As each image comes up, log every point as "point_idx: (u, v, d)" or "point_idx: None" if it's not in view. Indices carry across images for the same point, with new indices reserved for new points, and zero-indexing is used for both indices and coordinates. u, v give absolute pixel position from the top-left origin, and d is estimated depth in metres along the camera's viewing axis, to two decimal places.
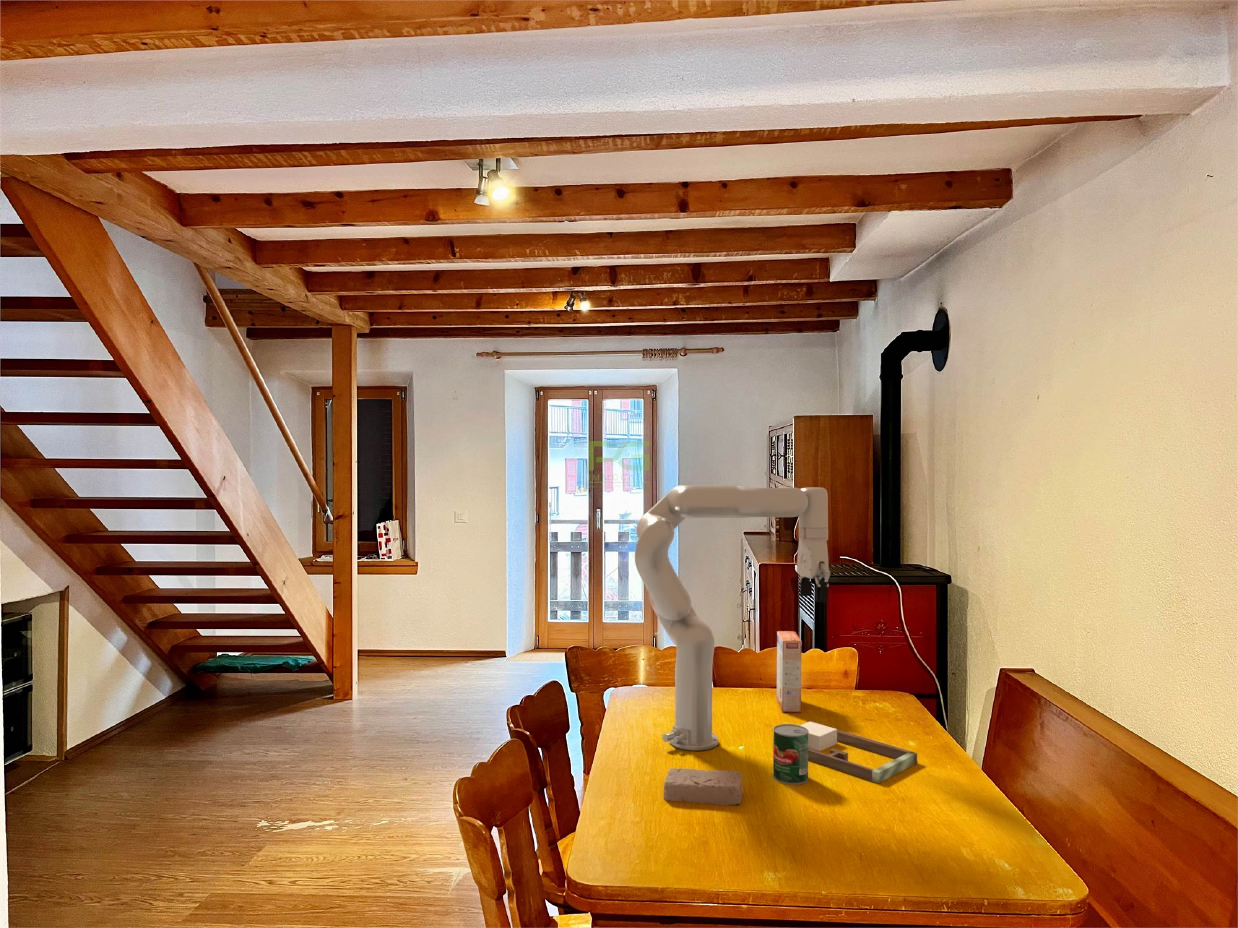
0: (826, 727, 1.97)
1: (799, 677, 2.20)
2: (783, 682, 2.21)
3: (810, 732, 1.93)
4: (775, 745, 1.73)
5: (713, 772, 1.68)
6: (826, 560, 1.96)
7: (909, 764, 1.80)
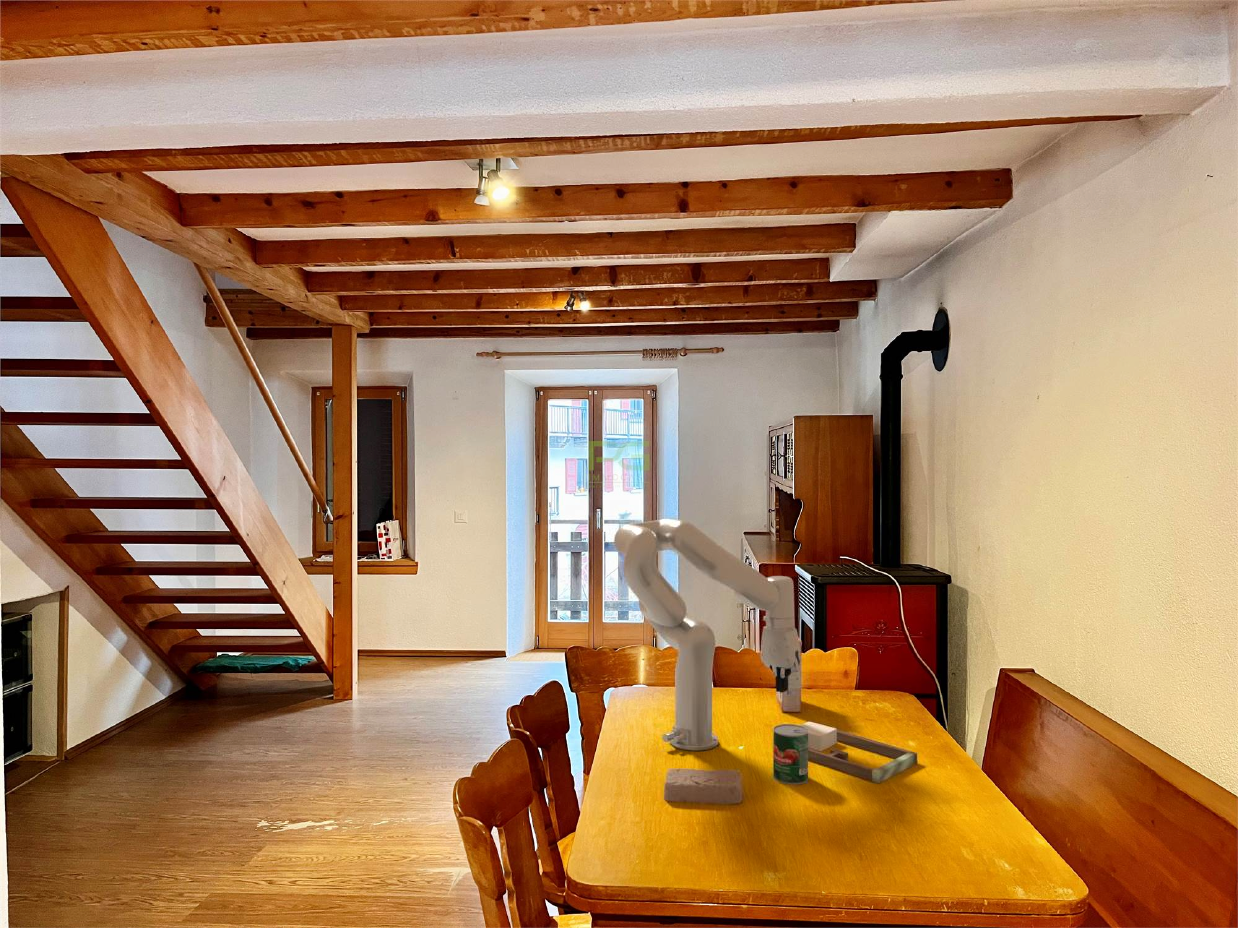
0: (826, 726, 1.97)
1: (799, 677, 2.20)
2: None
3: (811, 732, 1.93)
4: (775, 745, 1.73)
5: (713, 771, 1.68)
6: (799, 649, 2.02)
7: (909, 764, 1.80)
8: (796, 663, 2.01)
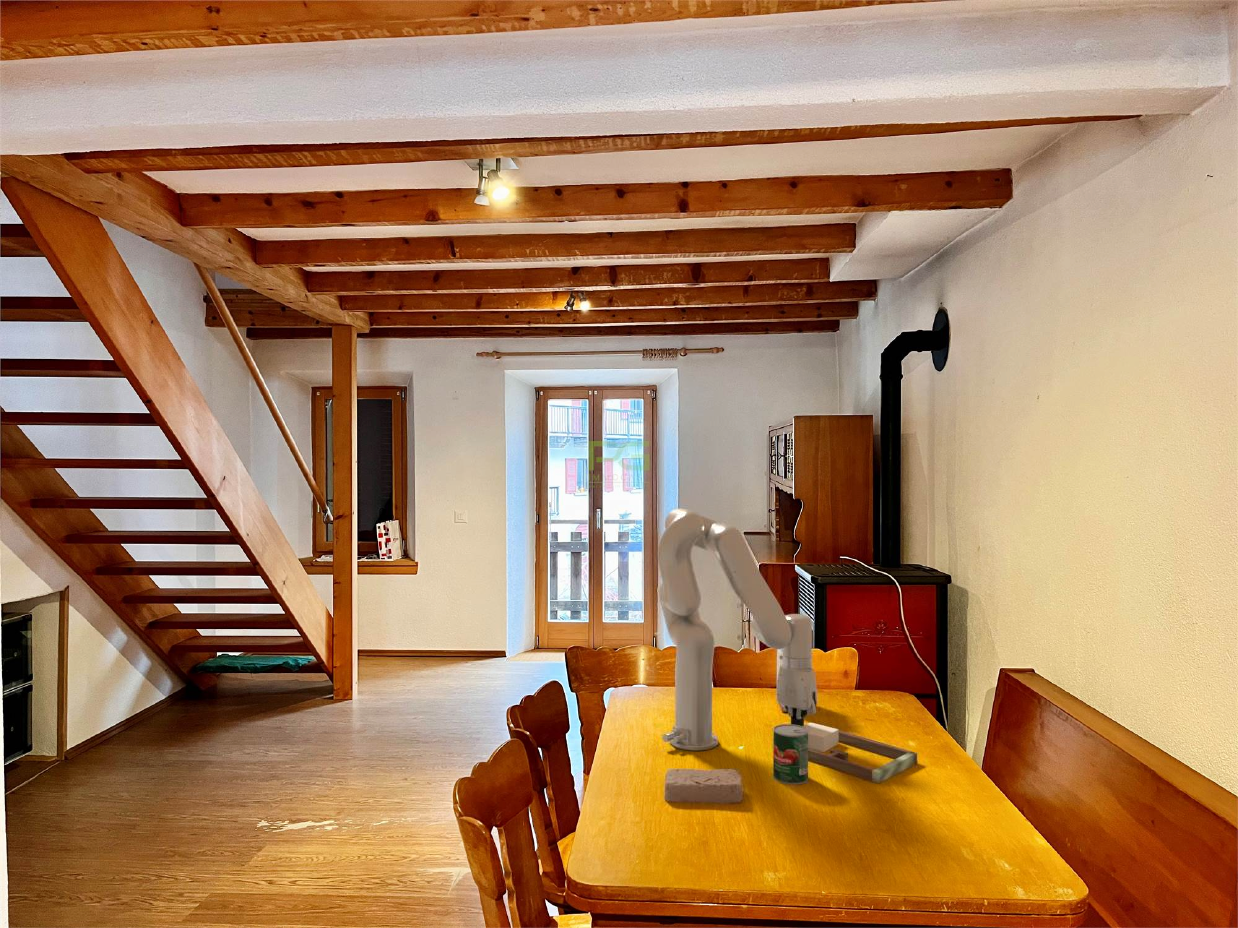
0: (827, 727, 1.97)
1: None
2: None
3: (813, 733, 1.93)
4: (775, 745, 1.73)
5: (712, 771, 1.68)
6: (816, 690, 1.97)
7: (909, 764, 1.80)
8: (813, 704, 1.96)
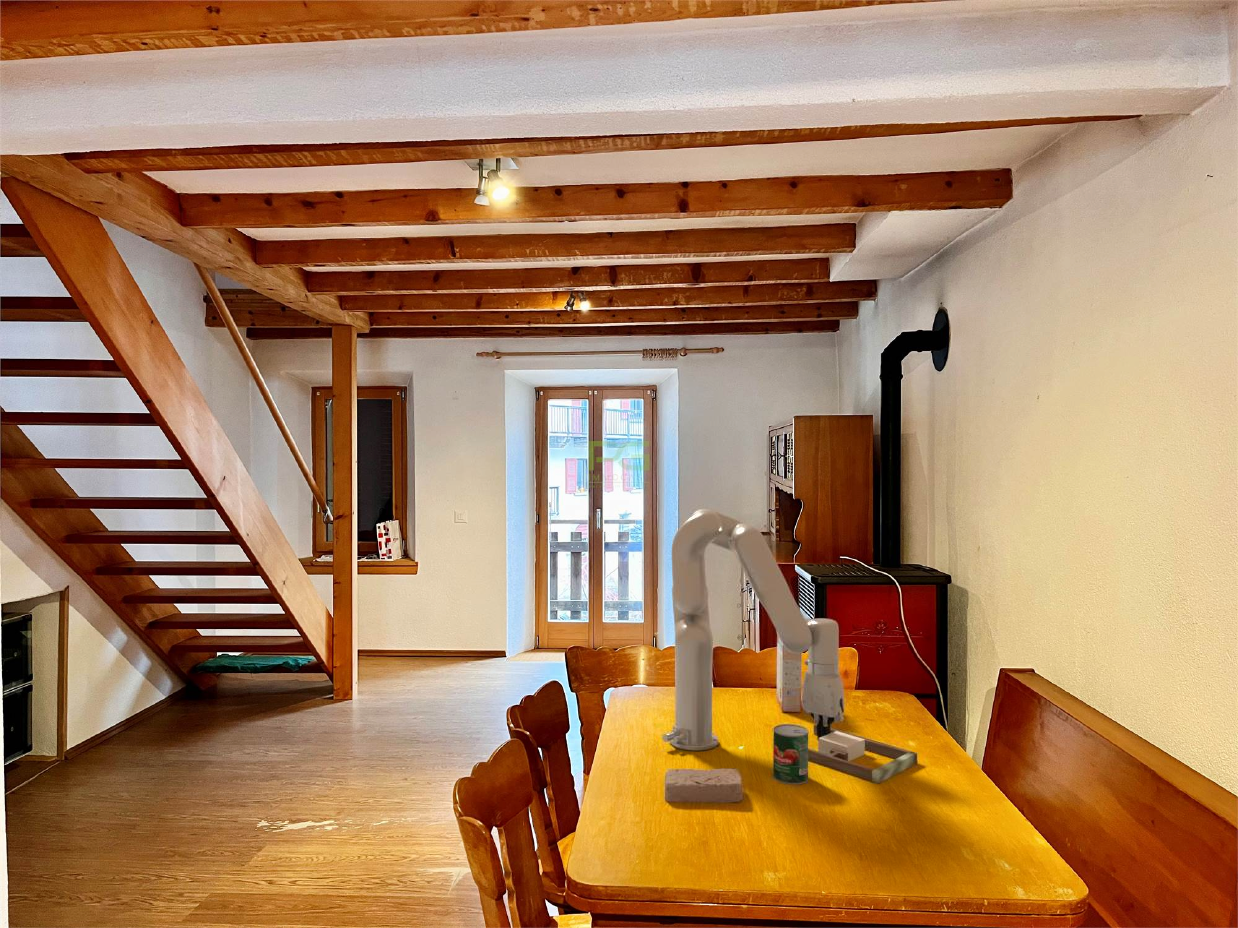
0: (853, 737, 1.90)
1: (799, 677, 2.20)
2: (783, 682, 2.21)
3: (837, 742, 1.86)
4: (775, 745, 1.73)
5: (711, 770, 1.68)
6: (843, 696, 1.91)
7: (909, 764, 1.80)
8: (840, 712, 1.90)
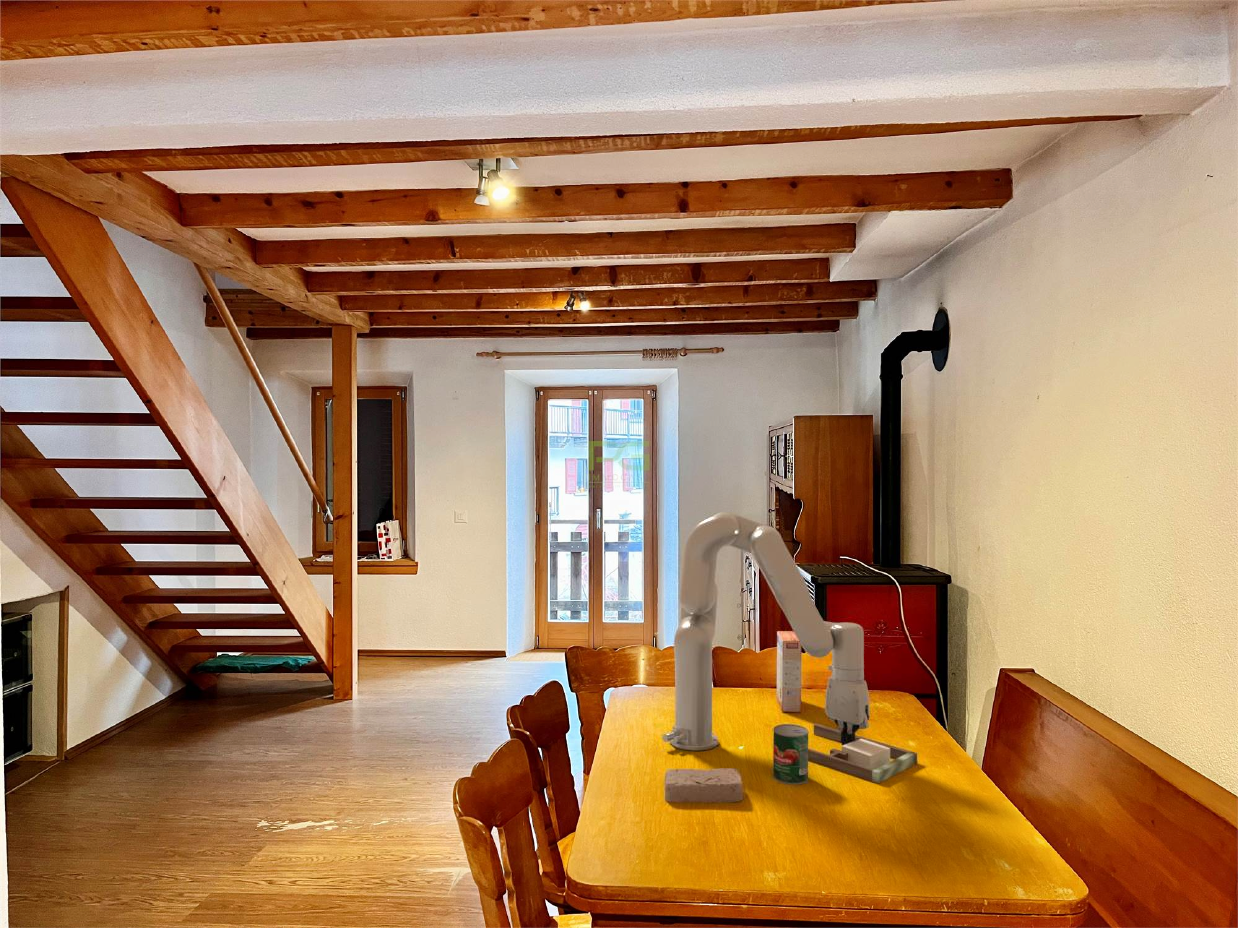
0: (878, 745, 1.84)
1: (799, 677, 2.20)
2: (783, 682, 2.21)
3: (860, 751, 1.81)
4: (775, 745, 1.73)
5: (711, 770, 1.68)
6: (868, 703, 1.86)
7: (909, 764, 1.80)
8: (865, 719, 1.85)
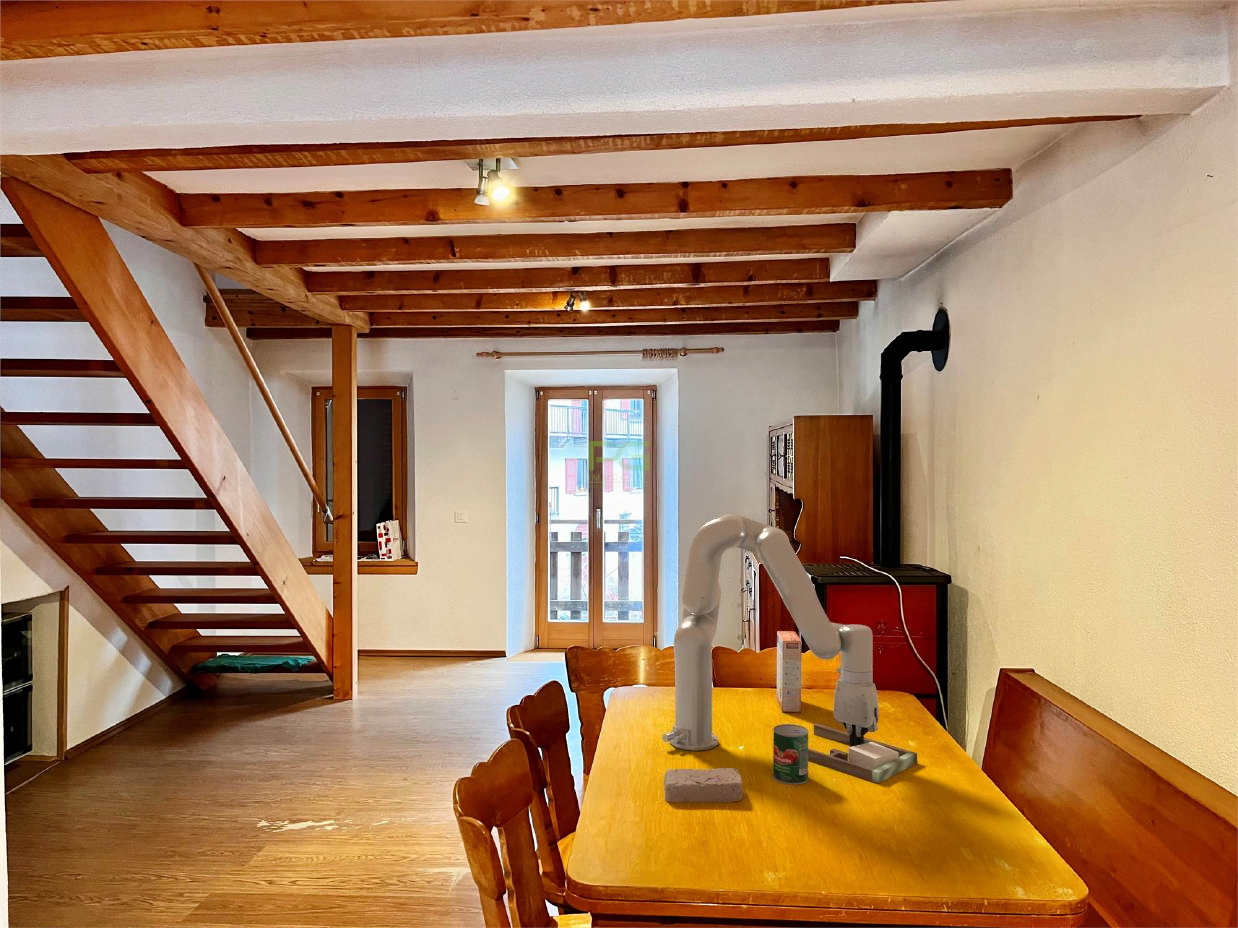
0: (887, 749, 1.82)
1: (799, 677, 2.20)
2: (783, 682, 2.21)
3: (866, 753, 1.79)
4: (775, 745, 1.73)
5: (710, 770, 1.69)
6: (877, 706, 1.84)
7: (909, 764, 1.80)
8: (874, 722, 1.83)
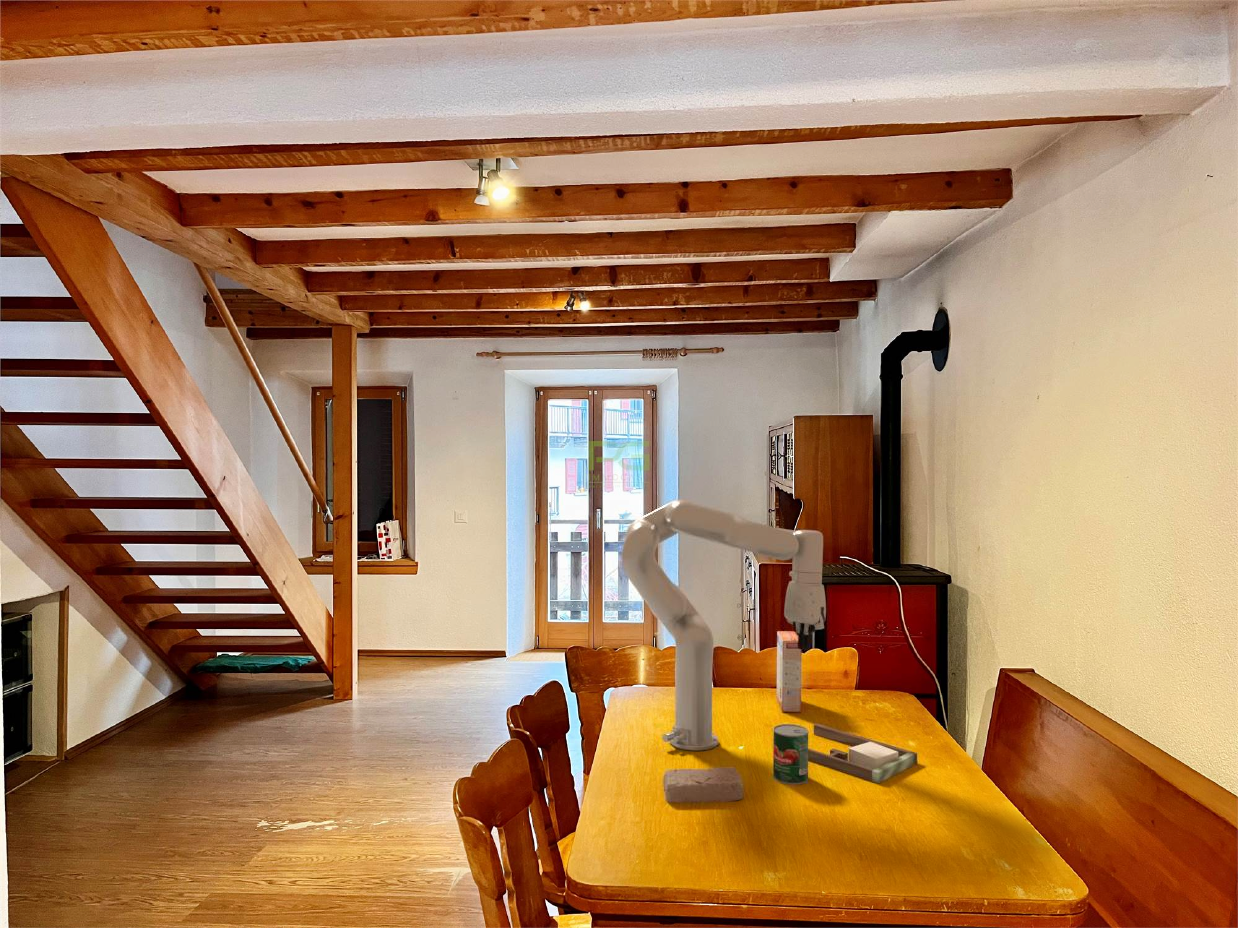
0: (887, 748, 1.82)
1: (799, 677, 2.20)
2: (783, 682, 2.21)
3: (867, 753, 1.79)
4: (775, 745, 1.73)
5: (709, 769, 1.69)
6: (824, 605, 1.94)
7: (909, 764, 1.80)
8: (821, 620, 1.93)
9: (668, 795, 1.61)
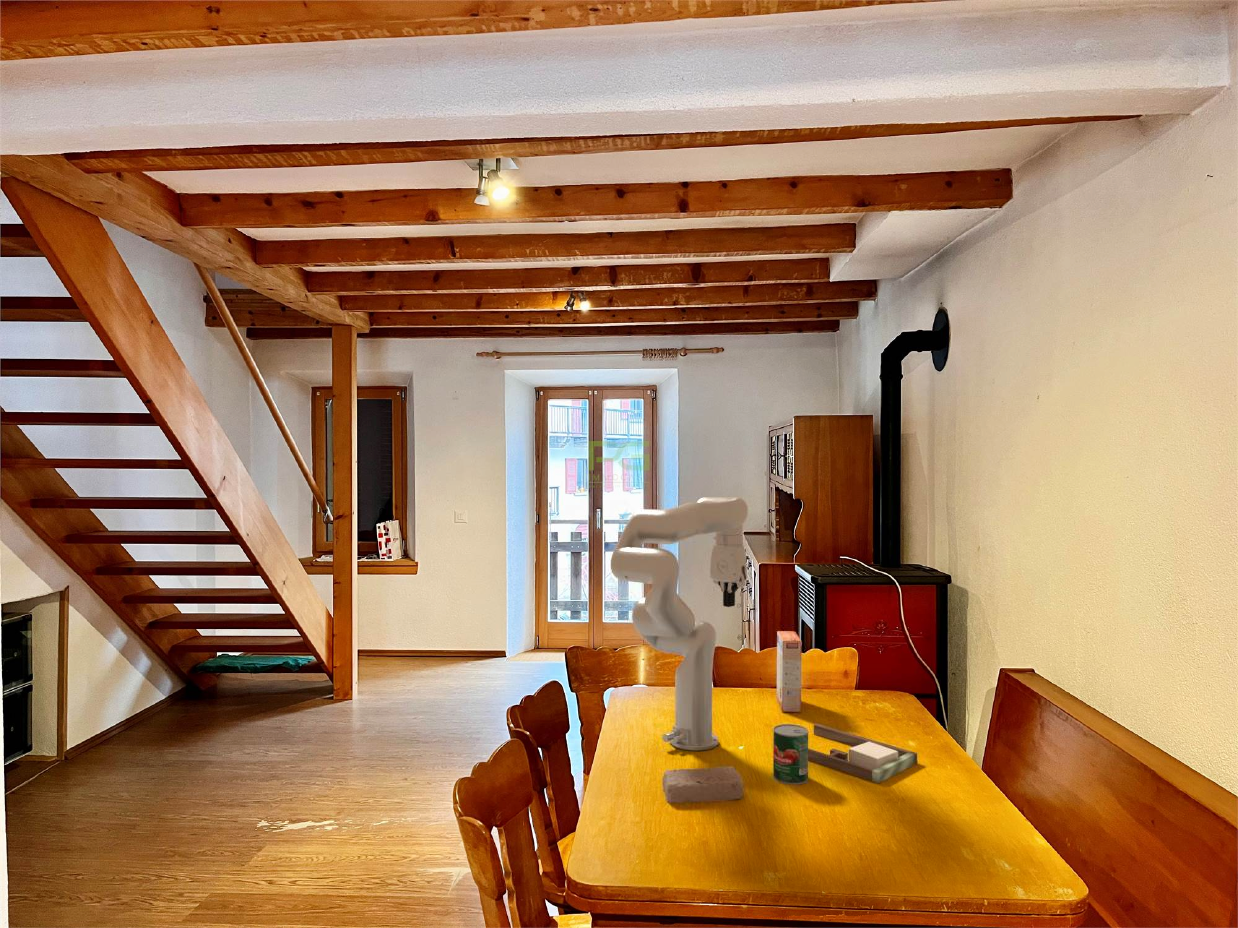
0: (886, 748, 1.82)
1: (799, 677, 2.20)
2: (783, 682, 2.21)
3: (867, 754, 1.79)
4: (775, 745, 1.73)
5: (708, 769, 1.69)
6: (745, 565, 2.11)
7: (909, 764, 1.80)
8: (742, 578, 2.10)
9: (669, 795, 1.61)
